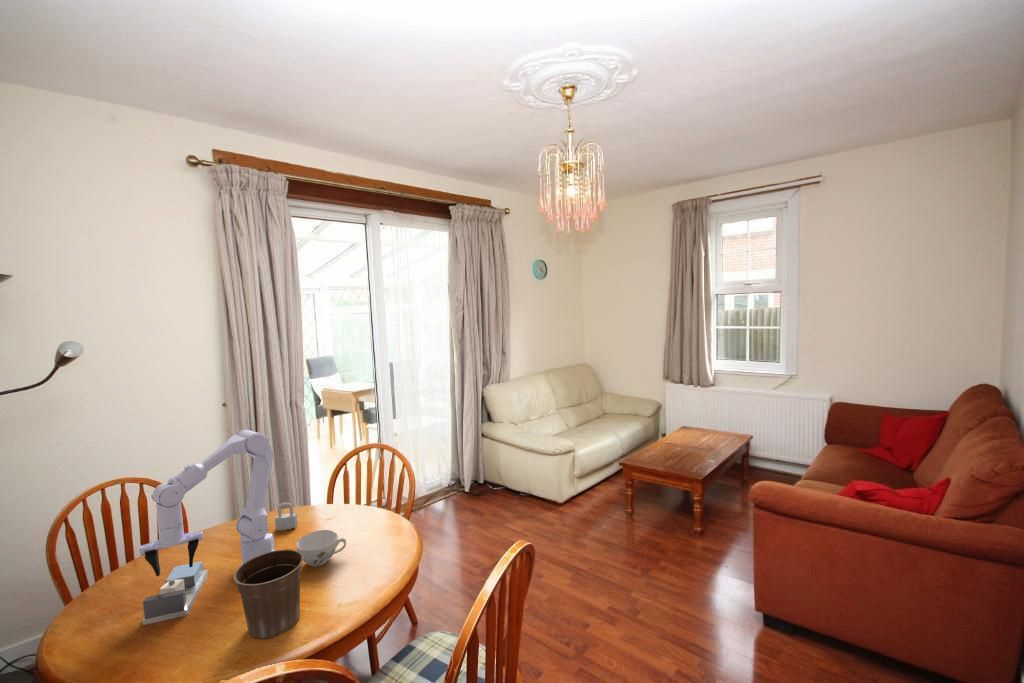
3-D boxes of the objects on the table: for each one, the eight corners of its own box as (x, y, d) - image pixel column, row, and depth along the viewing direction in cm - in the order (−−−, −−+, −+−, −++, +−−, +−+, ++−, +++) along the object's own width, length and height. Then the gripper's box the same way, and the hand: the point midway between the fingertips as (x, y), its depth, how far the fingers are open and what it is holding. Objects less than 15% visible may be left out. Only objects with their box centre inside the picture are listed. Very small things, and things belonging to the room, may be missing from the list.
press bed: (208, 573, 144) (206, 554, 144) (187, 615, 125) (185, 592, 124) (170, 581, 141) (169, 561, 140) (142, 625, 121) (140, 602, 121)
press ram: (202, 569, 144) (202, 561, 143) (194, 584, 136) (193, 575, 136) (175, 575, 141) (175, 566, 141) (165, 590, 133) (165, 581, 133)
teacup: (294, 576, 141) (293, 552, 141) (300, 556, 153) (299, 533, 153) (345, 567, 146) (344, 543, 145) (348, 548, 158) (346, 525, 157)
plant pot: (229, 652, 110) (224, 590, 109) (247, 610, 126) (243, 555, 125) (302, 637, 115) (297, 576, 114) (311, 598, 130) (307, 544, 129)
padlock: (298, 524, 176) (296, 499, 175) (294, 529, 172) (293, 504, 171) (278, 526, 175) (277, 501, 174) (275, 531, 171) (273, 505, 170)
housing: (185, 595, 131) (183, 575, 131) (176, 604, 127) (174, 584, 127) (170, 596, 131) (168, 576, 130) (161, 605, 127) (159, 585, 126)
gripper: (201, 512, 137) (205, 555, 138) (140, 526, 130) (145, 571, 131) (200, 521, 131) (204, 566, 132) (136, 536, 124) (141, 584, 125)
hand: (175, 570), depth 131 cm, fingers open, 7 cm apart
